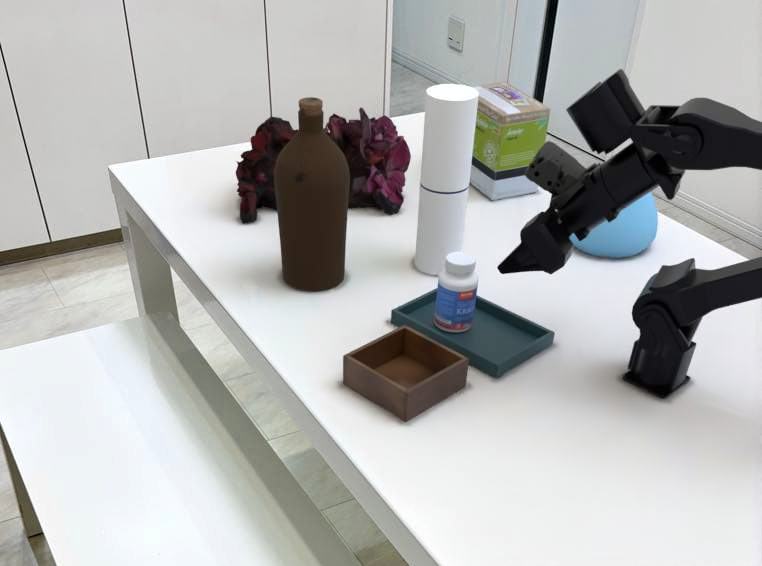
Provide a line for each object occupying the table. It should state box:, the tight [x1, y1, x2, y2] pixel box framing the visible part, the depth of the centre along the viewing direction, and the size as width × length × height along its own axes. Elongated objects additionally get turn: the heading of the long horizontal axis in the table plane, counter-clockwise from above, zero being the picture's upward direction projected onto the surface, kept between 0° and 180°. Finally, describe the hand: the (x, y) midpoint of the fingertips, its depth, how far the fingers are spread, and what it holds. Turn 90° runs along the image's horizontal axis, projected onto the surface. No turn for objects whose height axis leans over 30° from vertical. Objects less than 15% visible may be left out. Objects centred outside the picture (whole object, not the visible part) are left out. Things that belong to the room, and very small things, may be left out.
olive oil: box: [274, 96, 350, 292], centre depth 122 cm, size 11×11×25 cm
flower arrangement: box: [235, 107, 412, 224], centre depth 146 cm, size 31×20×15 cm, turn 107°
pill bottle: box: [434, 251, 479, 333], centre depth 118 cm, size 6×5×10 cm
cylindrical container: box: [414, 83, 479, 276], centre depth 126 cm, size 7×7×25 cm
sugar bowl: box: [569, 191, 659, 259], centre depth 138 cm, size 15×15×12 cm
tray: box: [390, 287, 556, 379], centre depth 119 cm, size 19×12×2 cm, turn 44°
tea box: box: [469, 81, 552, 201], centre depth 154 cm, size 15×10×15 cm, turn 25°
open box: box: [342, 325, 470, 423], centre depth 109 cm, size 11×11×4 cm
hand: (511, 255), depth 111 cm, fingers open, 9 cm apart
